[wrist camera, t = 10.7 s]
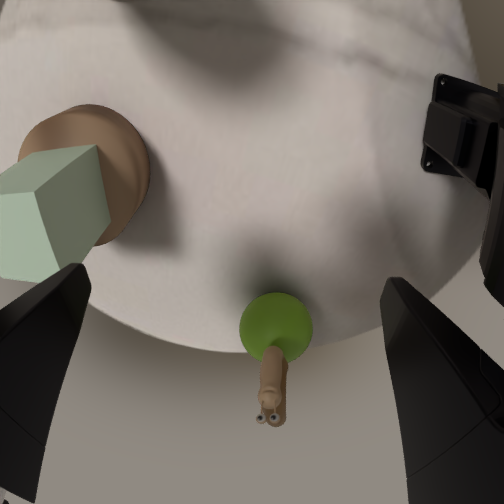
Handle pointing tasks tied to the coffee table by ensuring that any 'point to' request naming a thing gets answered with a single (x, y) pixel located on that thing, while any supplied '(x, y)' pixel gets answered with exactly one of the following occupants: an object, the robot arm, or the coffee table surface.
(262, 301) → the snail figurine
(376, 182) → the coffee table surface
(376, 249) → the coffee table surface
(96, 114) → the walnut base
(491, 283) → the robot arm
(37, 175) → the sage block
